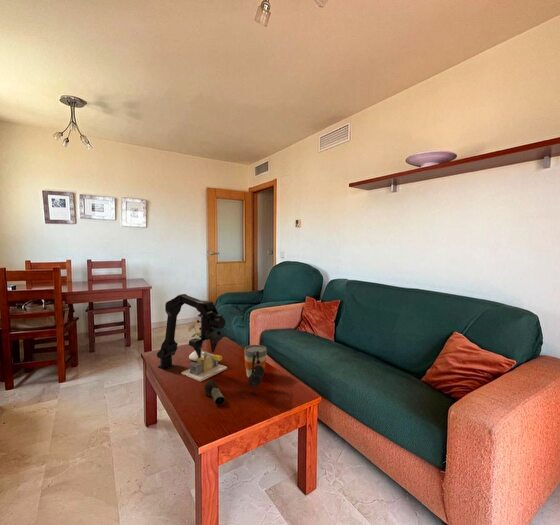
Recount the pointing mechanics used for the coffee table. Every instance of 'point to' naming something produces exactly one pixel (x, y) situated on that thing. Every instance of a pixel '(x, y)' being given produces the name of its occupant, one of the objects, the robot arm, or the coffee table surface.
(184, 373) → the mounting board
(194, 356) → the white rounded piece
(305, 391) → the coffee table surface
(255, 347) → the reusable coffee cup
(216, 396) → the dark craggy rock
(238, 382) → the coffee table surface
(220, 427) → the coffee table surface
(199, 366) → the blocks
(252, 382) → the headphones
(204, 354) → the valve lever
